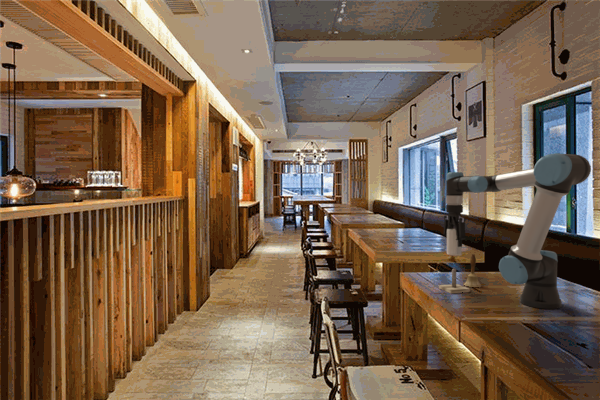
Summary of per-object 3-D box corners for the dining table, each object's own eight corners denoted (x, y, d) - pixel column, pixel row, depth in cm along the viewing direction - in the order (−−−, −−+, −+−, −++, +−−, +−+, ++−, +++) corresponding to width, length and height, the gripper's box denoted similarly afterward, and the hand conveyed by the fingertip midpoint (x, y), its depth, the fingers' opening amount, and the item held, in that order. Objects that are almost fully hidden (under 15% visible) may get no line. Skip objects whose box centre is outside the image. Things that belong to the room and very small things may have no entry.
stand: (469, 291, 194) (469, 269, 194) (451, 293, 192) (451, 271, 191) (456, 286, 204) (456, 265, 203) (438, 288, 201) (438, 267, 201)
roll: (464, 255, 195) (464, 230, 194) (452, 255, 193) (452, 230, 193) (455, 252, 201) (456, 228, 201) (443, 253, 200) (444, 228, 199)
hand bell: (478, 283, 210) (478, 252, 209) (483, 288, 201) (484, 255, 201) (461, 283, 210) (461, 252, 210) (466, 287, 202) (466, 255, 202)
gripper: (474, 205, 188) (474, 255, 189) (449, 203, 207) (448, 248, 208) (460, 205, 186) (459, 256, 187) (436, 203, 205) (435, 249, 206)
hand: (454, 252), depth 197 cm, fingers closed on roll, 7 cm apart
